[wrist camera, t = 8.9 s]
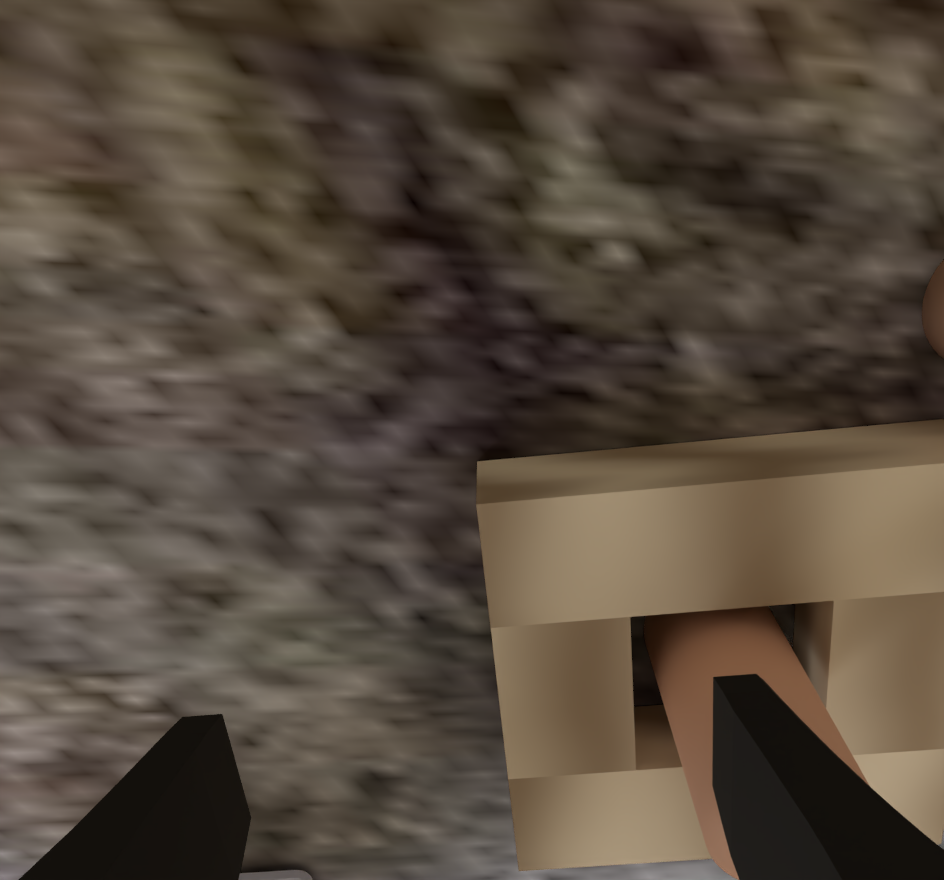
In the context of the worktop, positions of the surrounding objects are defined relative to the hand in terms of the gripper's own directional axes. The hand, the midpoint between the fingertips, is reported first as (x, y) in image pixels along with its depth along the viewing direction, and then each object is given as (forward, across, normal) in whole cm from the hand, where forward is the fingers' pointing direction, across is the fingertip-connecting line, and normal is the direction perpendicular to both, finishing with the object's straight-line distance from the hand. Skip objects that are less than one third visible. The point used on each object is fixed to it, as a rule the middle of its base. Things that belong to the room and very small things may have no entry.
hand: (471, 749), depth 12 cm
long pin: (+10, -6, +6) cm, 13 cm away
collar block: (+10, -6, +6) cm, 13 cm away
